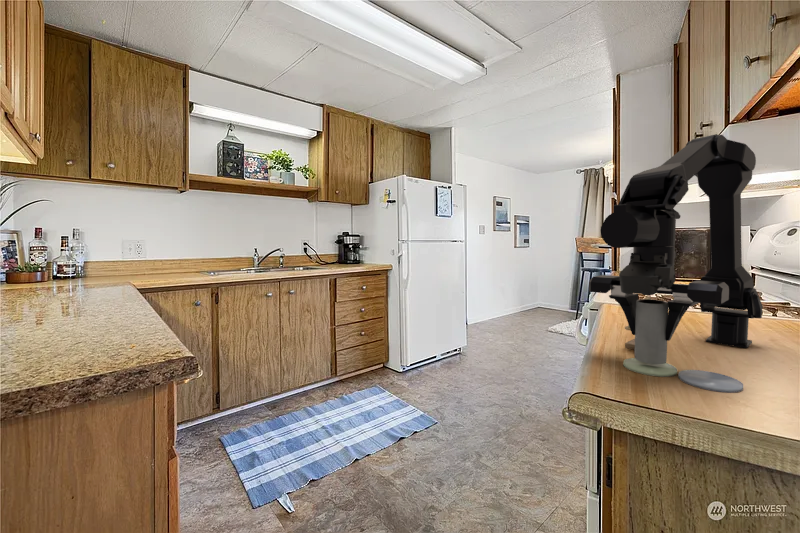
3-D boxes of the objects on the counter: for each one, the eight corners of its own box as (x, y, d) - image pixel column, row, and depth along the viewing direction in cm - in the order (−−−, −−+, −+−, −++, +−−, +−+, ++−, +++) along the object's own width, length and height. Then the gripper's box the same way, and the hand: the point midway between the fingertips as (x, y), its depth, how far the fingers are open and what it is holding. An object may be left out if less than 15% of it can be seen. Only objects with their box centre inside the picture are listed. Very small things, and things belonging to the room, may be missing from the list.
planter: (658, 356, 64) (660, 299, 63) (672, 365, 59) (674, 303, 58) (629, 355, 64) (631, 298, 64) (641, 364, 60) (643, 303, 59)
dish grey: (685, 370, 61) (685, 366, 61) (747, 383, 55) (747, 379, 55) (672, 381, 56) (672, 377, 56) (737, 397, 50) (738, 393, 50)
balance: (639, 340, 79) (641, 294, 78) (659, 343, 76) (661, 296, 76) (620, 350, 72) (621, 300, 72) (640, 354, 69) (642, 302, 69)
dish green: (632, 358, 67) (632, 355, 67) (682, 369, 61) (683, 365, 61) (616, 367, 62) (616, 364, 62) (668, 380, 57) (669, 376, 56)
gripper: (575, 247, 63) (573, 335, 64) (714, 248, 48) (709, 361, 49) (602, 246, 70) (601, 325, 71) (731, 246, 55) (727, 345, 56)
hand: (650, 337), depth 62 cm, fingers closed on planter, 4 cm apart
